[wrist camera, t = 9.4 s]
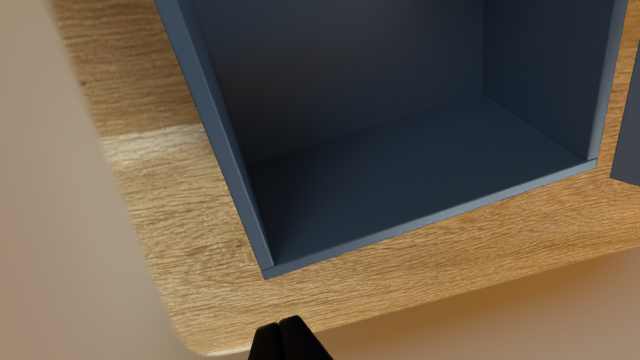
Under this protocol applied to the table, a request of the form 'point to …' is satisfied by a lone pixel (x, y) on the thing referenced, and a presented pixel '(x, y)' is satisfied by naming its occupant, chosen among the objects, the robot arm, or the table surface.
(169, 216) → the table surface
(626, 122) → the flap
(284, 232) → the carton
